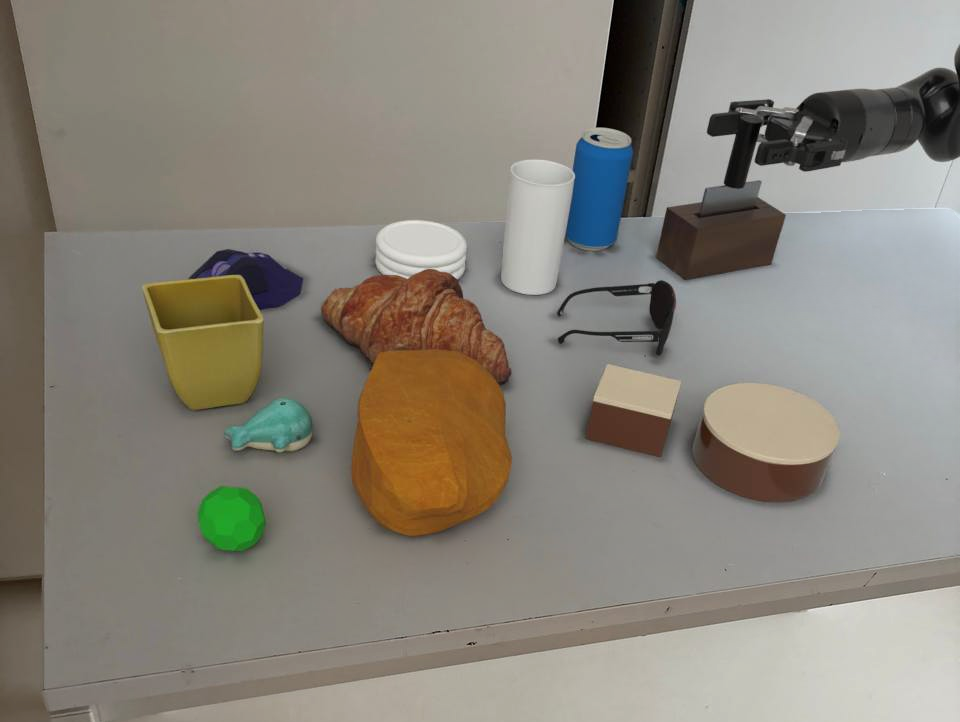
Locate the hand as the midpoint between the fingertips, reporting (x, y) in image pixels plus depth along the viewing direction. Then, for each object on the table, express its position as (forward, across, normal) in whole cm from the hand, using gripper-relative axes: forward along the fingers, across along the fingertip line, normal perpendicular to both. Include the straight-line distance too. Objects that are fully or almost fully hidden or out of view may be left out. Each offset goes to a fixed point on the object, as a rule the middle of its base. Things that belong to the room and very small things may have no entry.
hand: (733, 139), depth 109 cm
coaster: (+33, -9, +14) cm, 37 cm away
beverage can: (+10, -9, +14) cm, 20 cm away
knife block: (-2, 0, +14) cm, 14 cm away
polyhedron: (+67, +28, +14) cm, 74 cm away
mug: (+22, -4, +14) cm, 26 cm away
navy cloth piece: (+53, -10, +14) cm, 56 cm away
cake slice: (+29, +26, +14) cm, 41 cm away
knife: (-2, 0, +14) cm, 14 cm away
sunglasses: (+20, +11, +14) cm, 27 cm away
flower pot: (+62, +7, +14) cm, 64 cm away
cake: (+20, +35, +14) cm, 42 cm away
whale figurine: (+60, +16, +14) cm, 64 cm away
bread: (+48, +26, +14) cm, 57 cm away
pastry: (+41, +6, +14) cm, 44 cm away
